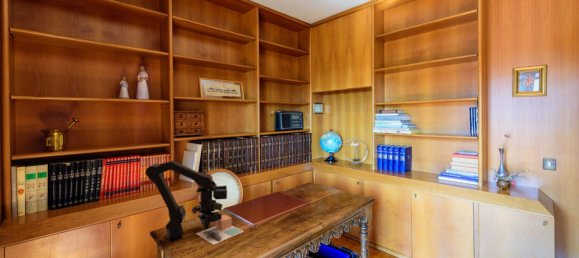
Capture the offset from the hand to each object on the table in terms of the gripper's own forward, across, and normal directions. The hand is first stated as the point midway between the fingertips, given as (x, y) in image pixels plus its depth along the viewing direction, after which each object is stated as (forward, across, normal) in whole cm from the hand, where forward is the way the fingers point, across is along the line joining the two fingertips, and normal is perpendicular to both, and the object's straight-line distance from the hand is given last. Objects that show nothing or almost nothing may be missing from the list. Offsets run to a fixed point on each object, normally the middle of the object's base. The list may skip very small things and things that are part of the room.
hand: (206, 229), depth 133 cm
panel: (+3, -4, -5) cm, 7 cm away
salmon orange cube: (+2, 0, -10) cm, 10 cm away
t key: (+2, -8, 0) cm, 8 cm away
